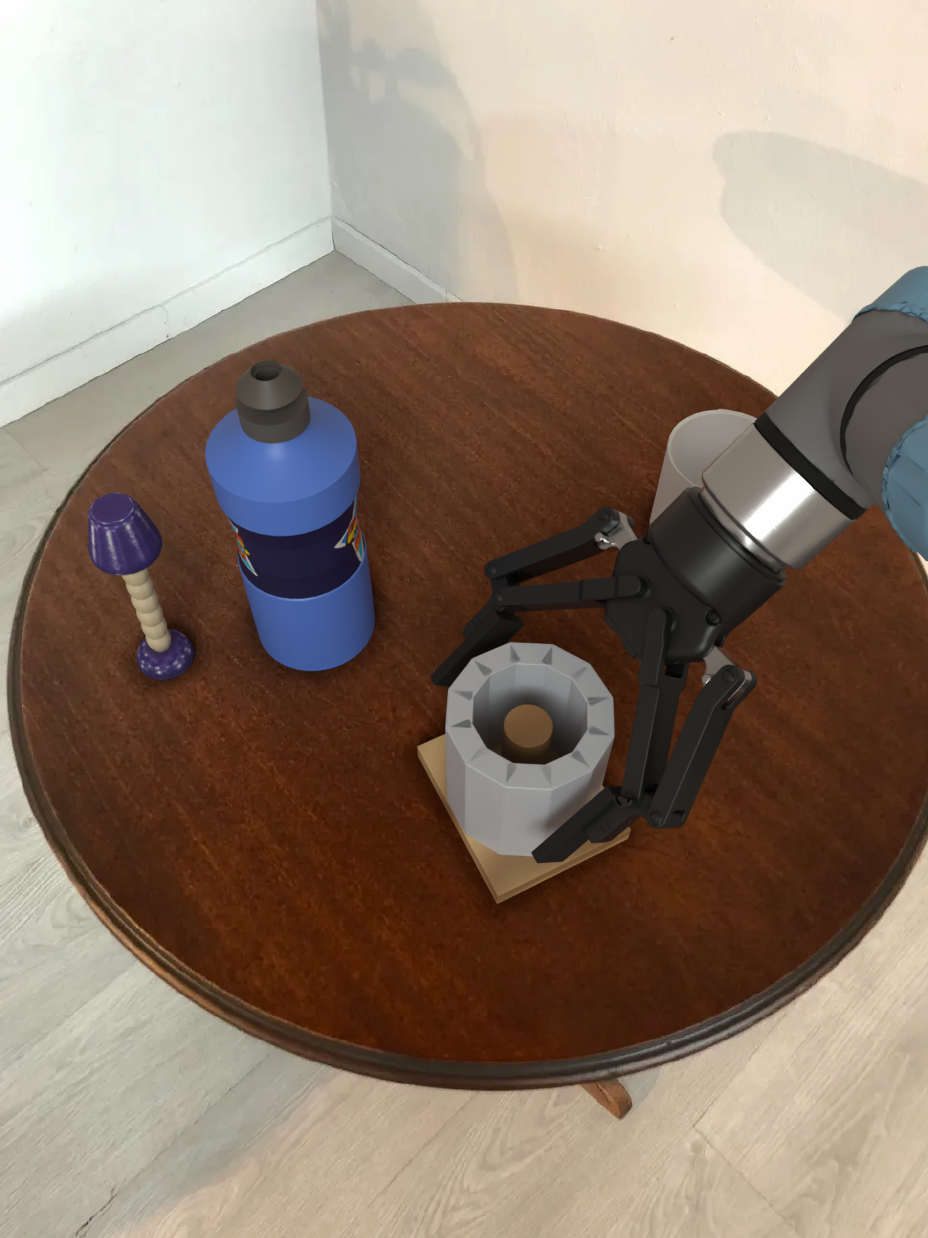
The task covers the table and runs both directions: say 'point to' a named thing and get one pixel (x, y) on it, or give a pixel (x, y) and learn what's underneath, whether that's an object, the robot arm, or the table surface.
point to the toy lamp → (137, 579)
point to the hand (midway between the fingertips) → (493, 765)
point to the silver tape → (525, 793)
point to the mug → (695, 451)
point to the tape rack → (522, 745)
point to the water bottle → (295, 518)
